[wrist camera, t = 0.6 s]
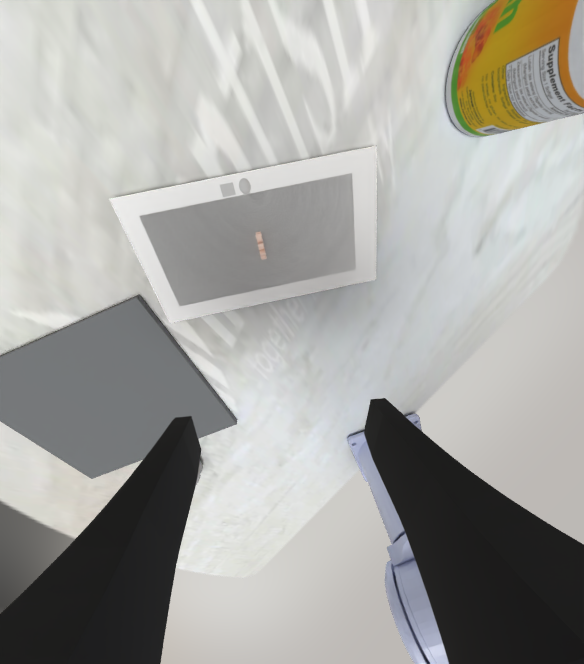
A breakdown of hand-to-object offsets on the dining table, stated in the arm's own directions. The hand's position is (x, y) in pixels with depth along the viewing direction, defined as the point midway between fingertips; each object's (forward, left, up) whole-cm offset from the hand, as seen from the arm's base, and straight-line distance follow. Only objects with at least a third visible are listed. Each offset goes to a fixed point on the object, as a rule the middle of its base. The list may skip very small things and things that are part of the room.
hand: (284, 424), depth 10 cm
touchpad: (+5, -1, -11) cm, 12 cm away
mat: (-2, +16, -10) cm, 19 cm away
